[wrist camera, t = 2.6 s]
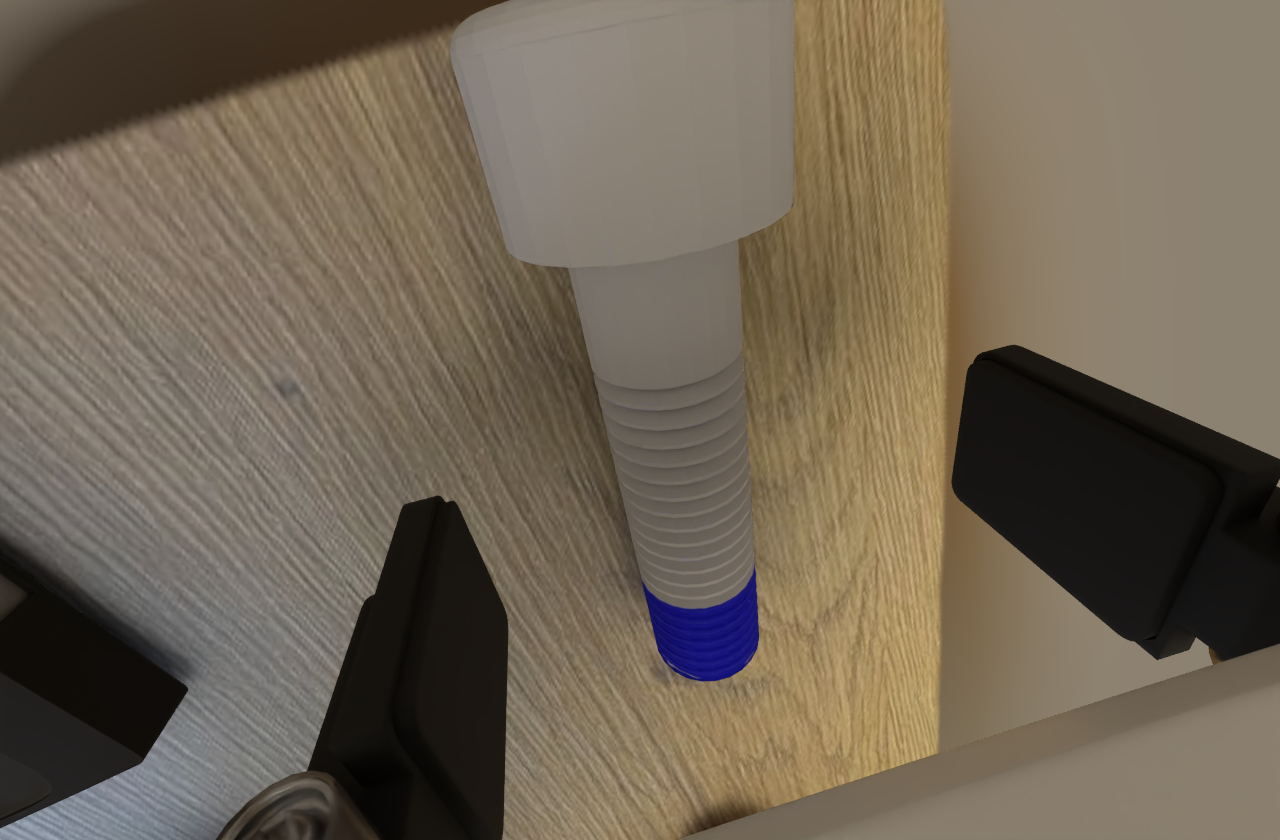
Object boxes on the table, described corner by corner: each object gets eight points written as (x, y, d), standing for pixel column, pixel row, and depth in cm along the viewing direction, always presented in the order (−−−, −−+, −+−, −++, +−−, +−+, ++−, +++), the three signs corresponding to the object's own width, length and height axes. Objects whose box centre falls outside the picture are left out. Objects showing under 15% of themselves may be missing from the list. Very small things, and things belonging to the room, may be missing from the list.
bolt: (477, 34, 10) (388, 12, 6) (747, -18, 10) (856, -79, 6) (623, 583, 19) (630, 733, 14) (767, 561, 18) (815, 706, 14)
